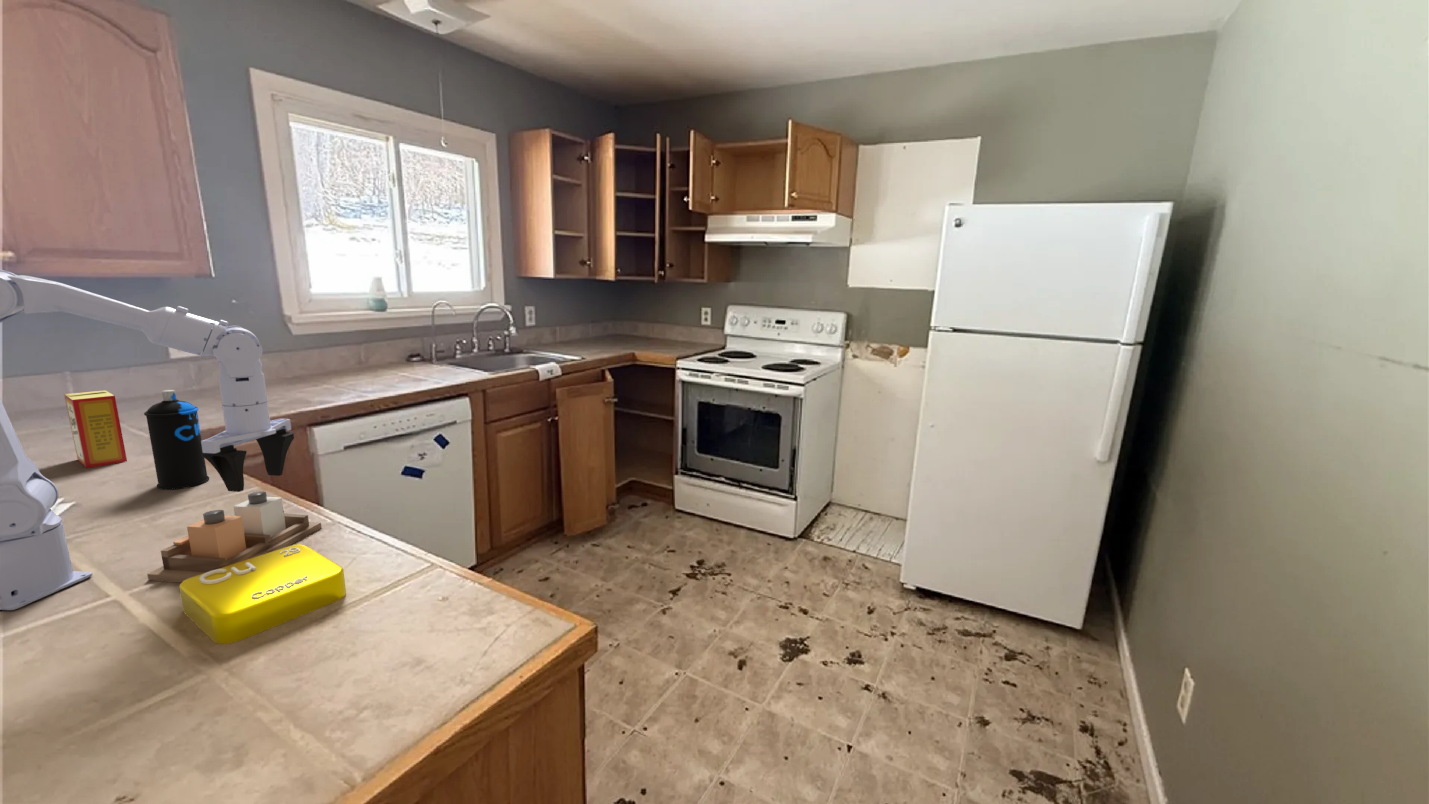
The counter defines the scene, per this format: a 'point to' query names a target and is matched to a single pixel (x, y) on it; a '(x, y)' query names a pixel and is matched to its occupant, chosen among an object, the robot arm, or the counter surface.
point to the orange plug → (217, 535)
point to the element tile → (261, 592)
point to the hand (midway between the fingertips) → (256, 482)
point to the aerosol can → (176, 443)
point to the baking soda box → (95, 428)
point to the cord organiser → (186, 566)
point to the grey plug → (261, 514)
